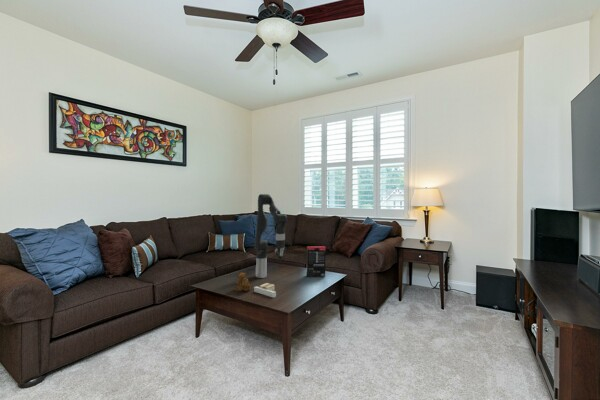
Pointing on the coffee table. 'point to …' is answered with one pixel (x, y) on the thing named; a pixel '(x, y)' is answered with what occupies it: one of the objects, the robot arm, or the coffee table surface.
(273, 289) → the maple block
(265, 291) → the board
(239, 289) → the stuffed squirrel
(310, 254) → the graphics card box
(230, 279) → the coffee table surface
